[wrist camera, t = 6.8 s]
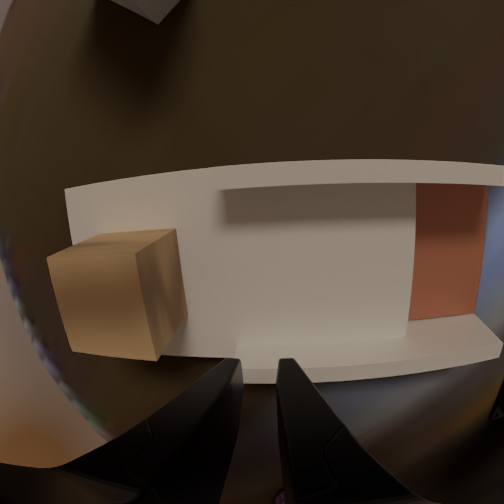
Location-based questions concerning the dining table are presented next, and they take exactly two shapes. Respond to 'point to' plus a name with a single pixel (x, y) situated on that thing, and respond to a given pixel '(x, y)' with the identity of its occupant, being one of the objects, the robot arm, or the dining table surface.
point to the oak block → (121, 293)
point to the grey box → (149, 8)
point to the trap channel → (317, 261)
